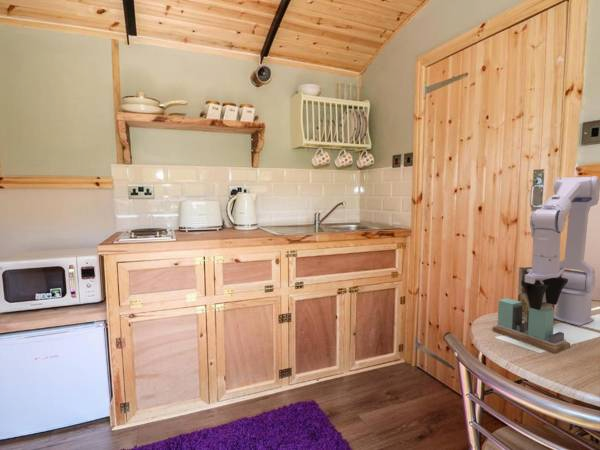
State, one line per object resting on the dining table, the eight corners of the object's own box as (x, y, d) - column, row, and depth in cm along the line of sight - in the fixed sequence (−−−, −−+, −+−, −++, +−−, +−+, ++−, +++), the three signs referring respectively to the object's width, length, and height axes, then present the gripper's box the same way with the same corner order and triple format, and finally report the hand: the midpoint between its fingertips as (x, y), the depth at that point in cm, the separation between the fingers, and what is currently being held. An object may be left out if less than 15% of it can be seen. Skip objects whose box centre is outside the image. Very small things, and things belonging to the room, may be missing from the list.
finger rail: (507, 326, 101) (508, 296, 100) (569, 347, 86) (571, 313, 86) (492, 330, 97) (493, 300, 97) (555, 353, 83) (556, 318, 82)
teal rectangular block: (552, 336, 89) (554, 310, 88) (544, 339, 87) (545, 313, 86) (533, 330, 93) (535, 305, 92) (525, 333, 91) (526, 307, 90)
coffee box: (554, 327, 99) (557, 273, 98) (530, 326, 100) (533, 273, 99) (538, 316, 108) (540, 266, 107) (516, 315, 109) (518, 266, 108)
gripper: (544, 250, 94) (542, 297, 96) (513, 255, 88) (511, 306, 89) (574, 254, 88) (571, 304, 89) (543, 260, 82) (540, 314, 83)
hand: (543, 306), depth 89 cm, fingers open, 7 cm apart
